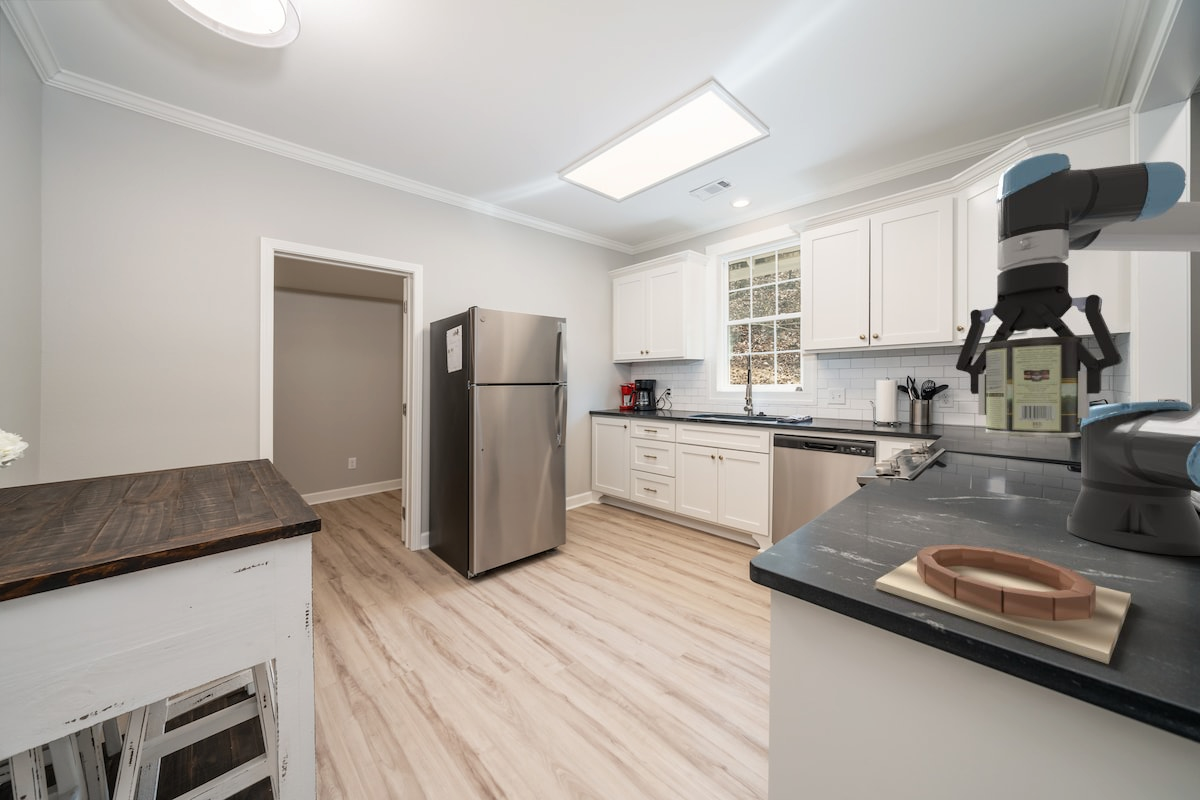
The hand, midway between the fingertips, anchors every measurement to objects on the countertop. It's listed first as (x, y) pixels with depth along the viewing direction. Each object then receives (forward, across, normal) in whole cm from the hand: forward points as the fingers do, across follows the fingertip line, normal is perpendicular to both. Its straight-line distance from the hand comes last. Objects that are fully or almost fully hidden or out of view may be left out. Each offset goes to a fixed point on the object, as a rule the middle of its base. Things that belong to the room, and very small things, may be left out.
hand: (1030, 416), depth 65 cm
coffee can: (+3, 0, 0) cm, 3 cm away
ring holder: (+22, 0, -18) cm, 28 cm away
